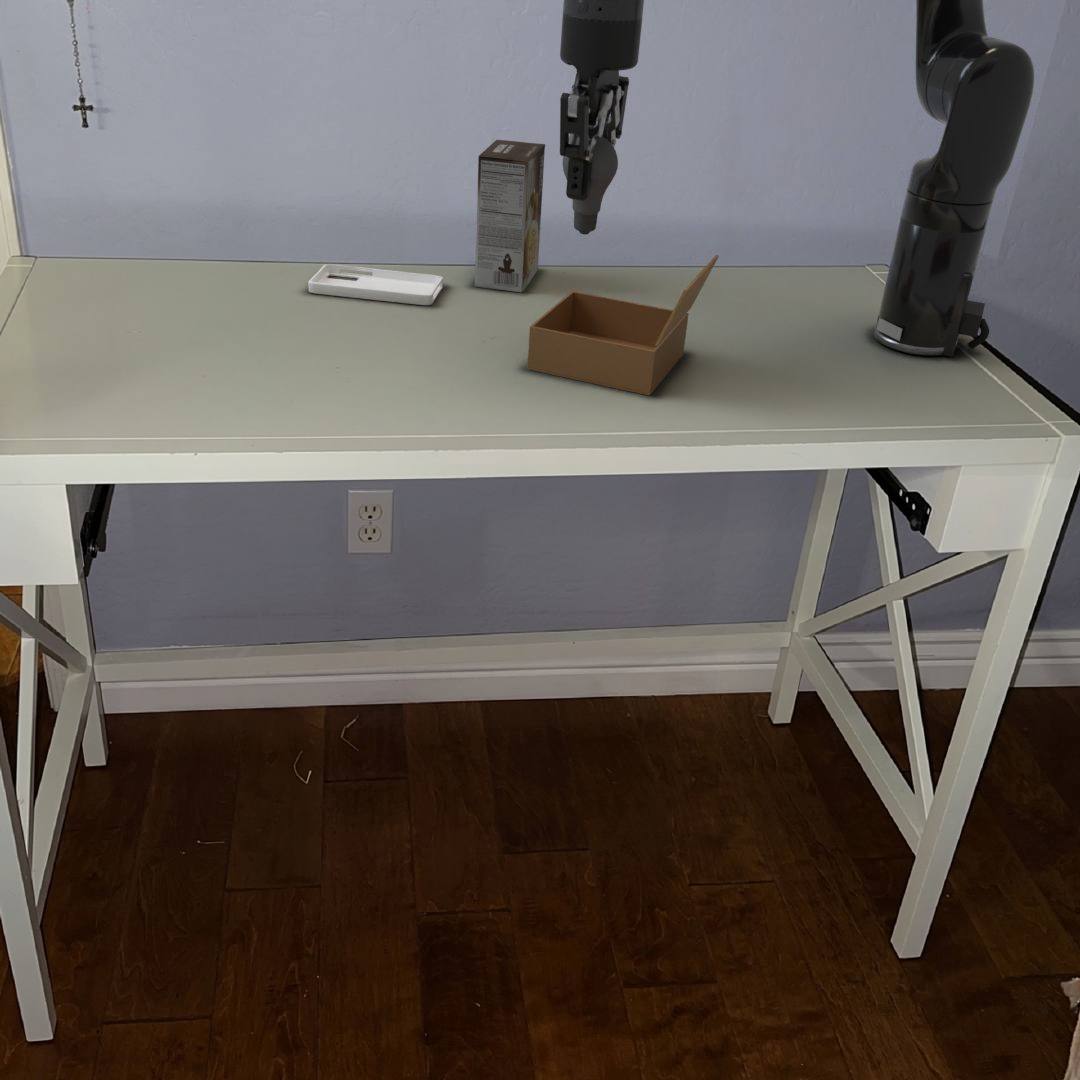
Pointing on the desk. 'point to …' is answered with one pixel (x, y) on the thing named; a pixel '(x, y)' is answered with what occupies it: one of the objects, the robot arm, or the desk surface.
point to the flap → (686, 300)
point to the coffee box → (508, 214)
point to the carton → (606, 342)
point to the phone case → (377, 285)
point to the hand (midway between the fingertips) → (587, 191)
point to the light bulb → (594, 185)
